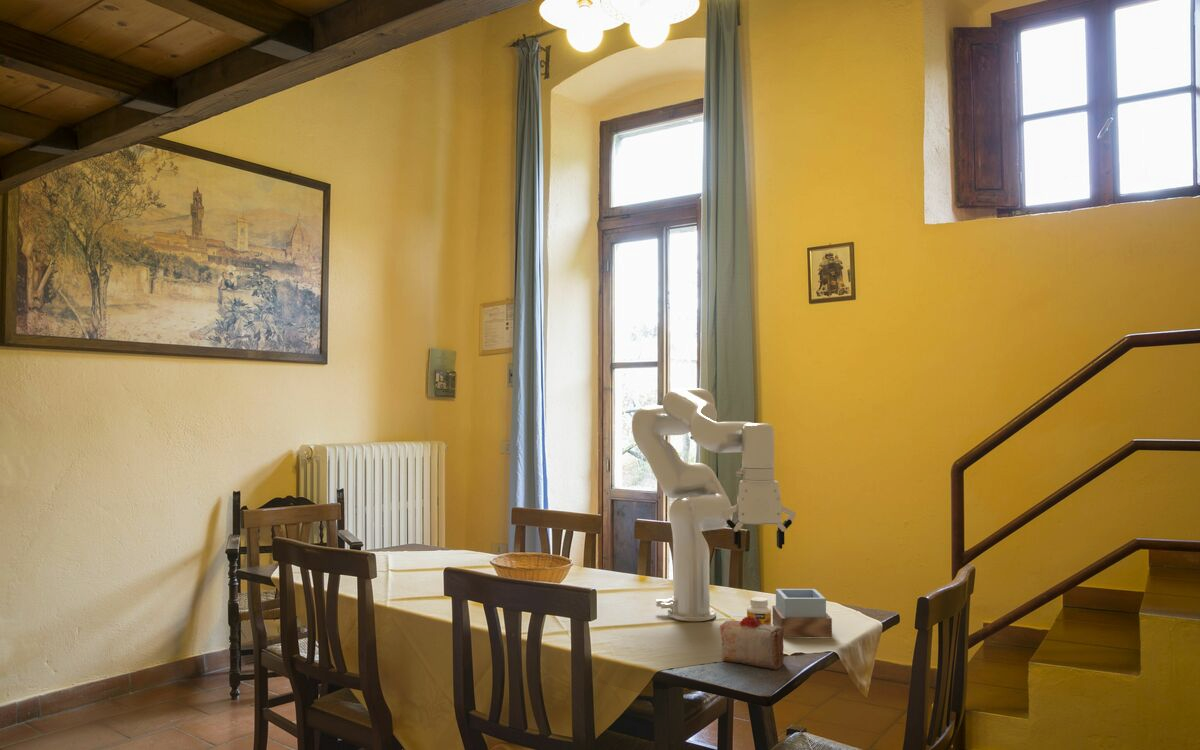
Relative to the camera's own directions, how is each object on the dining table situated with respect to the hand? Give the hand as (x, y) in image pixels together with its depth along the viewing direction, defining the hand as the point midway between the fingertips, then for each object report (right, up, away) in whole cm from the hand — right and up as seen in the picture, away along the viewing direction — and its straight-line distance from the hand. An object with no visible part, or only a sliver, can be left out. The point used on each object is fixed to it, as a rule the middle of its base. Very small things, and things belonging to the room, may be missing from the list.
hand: (759, 547), depth 193 cm
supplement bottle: (0, -23, -1) cm, 23 cm away
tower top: (+12, -18, +9) cm, 23 cm away
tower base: (+12, -23, +9) cm, 28 cm away
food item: (-5, -22, -15) cm, 27 cm away
